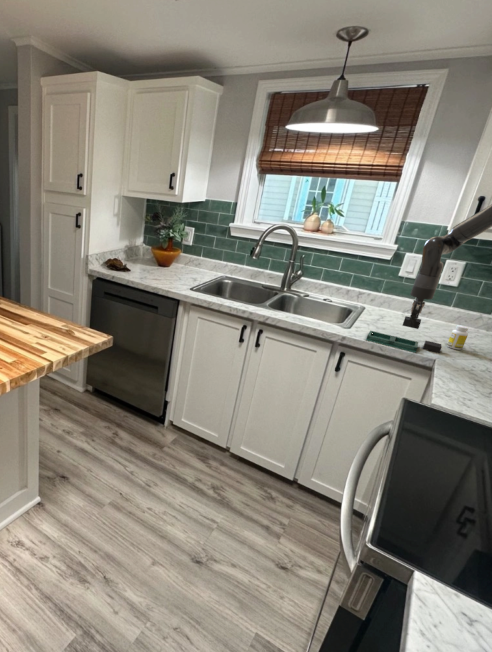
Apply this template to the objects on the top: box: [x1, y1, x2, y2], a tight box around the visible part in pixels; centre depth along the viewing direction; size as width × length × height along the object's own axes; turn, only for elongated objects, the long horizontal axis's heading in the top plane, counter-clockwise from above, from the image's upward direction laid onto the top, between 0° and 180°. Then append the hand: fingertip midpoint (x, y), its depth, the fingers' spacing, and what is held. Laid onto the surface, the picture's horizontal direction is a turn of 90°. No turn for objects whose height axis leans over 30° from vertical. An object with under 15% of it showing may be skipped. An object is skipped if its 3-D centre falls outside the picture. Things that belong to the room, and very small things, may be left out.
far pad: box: [422, 340, 442, 354], centre depth 173 cm, size 6×6×3 cm
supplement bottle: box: [446, 324, 469, 351], centre depth 177 cm, size 5×5×10 cm
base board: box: [365, 330, 419, 354], centre depth 177 cm, size 18×12×2 cm, turn 51°
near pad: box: [402, 315, 422, 330], centre depth 171 cm, size 6×6×3 cm
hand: (411, 324), depth 171 cm, fingers closed on near pad, 5 cm apart
